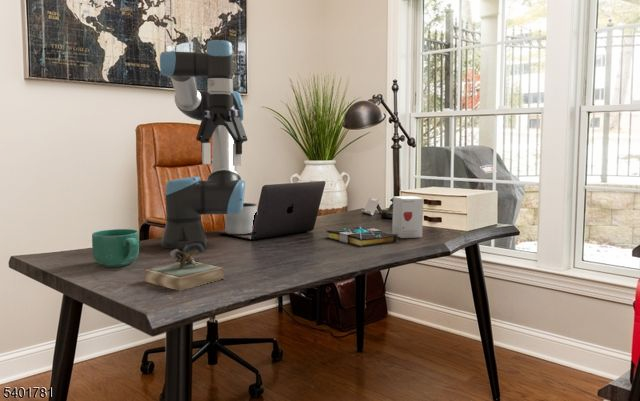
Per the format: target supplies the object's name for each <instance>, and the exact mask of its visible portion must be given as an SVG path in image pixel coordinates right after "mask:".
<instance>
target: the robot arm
mask: <svg viewBox="0 0 640 401" xmlns="http://www.w3.org/2000/svg"><path fill="white" fill-rule="evenodd" d="M233 54H234V50H233V44H232V42H230V41H229V40H223V39H212V40H209V41H208V42H207V44H206V52H198V51H197V52H194V51H193V52H192V51H174V50H172V51H162V52H161V53H160V54H159V55H160V56H159V70H160V73H161V75H162V76H164V77H169V78H170V80H171V82H172V87H173V90H174V102H175V105H176V107H177V109H178V110H179V111H180V112H181V113H182V114H183V115H185V116H187V117H188V118H190V119H192V120H194V121H195V120H196V121H200V125H199V127H198V132H197V134H196V137H195V139H196V141H199V142H200V145H201V147H200V149H201V151H200V152H201V154H202V156H201V157H202V165H210V164H211V173H209V175H208V177H207V180H202V178H201V176H189V177H181V178H176V179H170V180H168V181H166V184H165V194H164V196H165V216H166V217H165V218H166V219H165V223H166V224H165V227H164V230H163V235H162V237H161V247H162V248H165V249H173V250H175V249H178V250H183V249H184V247H185V245H186V244H189V243H191V242H193V241H195V240H198V241H199V240H200V241H203V242H204V243H205V244H206V246H207V244H208V243H207V242H208V240H207V239H208V238H207V235H206V233H205V228H204V226H203V224H202V215H225V214H228V215H230V214H238V213H240V212H241V211H242V209H243V203H245V190H246V181H245V180H243V179H242V178H241V175H240V174H239V173H238V171H237V167H238V166H242V154H243V143H244V142H247V141H248V136H247V133H246V130H245V128H244V126H243V123H242V122H243V121H244V108H243V99H242V95H241V94H240V92H239V91H235V90H234V81H233V80H234V79H233V76H234V75H233V71H234V70H233V69H234V68H233V65H234V63H233V62H234V61H233ZM195 78H207V90H206V89H204V90H203V89H197V85H196V79H195ZM211 137H212V144H211V142H210V140H211ZM211 145H212V147H211ZM211 148H212V152H211ZM211 153H212V154H211ZM211 155H212V157H211Z"/></svg>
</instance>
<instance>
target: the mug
mask: <svg viewBox="0 0 640 401" xmlns="http://www.w3.org/2000/svg"><path fill="white" fill-rule="evenodd" d="M91 235H92V236H91V244H92V246H91V247H92V248H91V249H92V255H93V256H92V257H93V259H94V260H95V261H96V262H97V264H100V265H103V267H105V266H106V267H105V268H119V267H125V266H128V265H130V264H131V263H133V262H134V261H135V260H136V259H137V258H138V257H139V252H140V242H139V241H140V240H139V238H140V237H139V231H138V230H136V229H130V228H118V229H117V228H116V229H104V230H103V229H102V230H98V231H94V232H92V234H91Z"/></svg>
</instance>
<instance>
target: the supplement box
mask: <svg viewBox="0 0 640 401" xmlns="http://www.w3.org/2000/svg"><path fill="white" fill-rule="evenodd" d="M392 198H393V199H392V223H391V224H392V228H391V233H393V234H398V238H400V239H413V238H415V239H416V238H423V222H424V221H423V220H424V217H423V216H424V198H422V197H419V196H416V195H415V196H414V195H411V196H409V195H408V196H407V195H405V196H403V195H401V196H393V197H392Z"/></svg>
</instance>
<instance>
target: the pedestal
mask: <svg viewBox="0 0 640 401" xmlns="http://www.w3.org/2000/svg"><path fill="white" fill-rule="evenodd" d="M196 265H197V267H196V266H195V265H193V264H191V263H188V262H185V265H184V267H183V268H182V269H180V262H175V263H171V264H167V265H162V266H157V267H156V266H155V267H153V268H146V269H144V282H146V283H148V284H149V283H150V284H153V285H156V286H160V287H163V288H168V289H171V290H174V289H175V290H174V291H179V292H182V291H185V289H186V290H188V289H189V290H190V289H192V288H197V287H199V286H200V285H201V286H204V285H208V284H210V282H212V283H215V282H214V281H216V282H219V281H222V280H221V279H223V280H224V279H225V278H224V277H225V275H224V274H225V273H224V272H225V269H224V267H221V266H216V265H211V264H207V263H202V262H196ZM218 280H219V281H218ZM207 283H208V284H207ZM203 284H204V285H203ZM196 286H197V287H196ZM181 290H182V291H181Z"/></svg>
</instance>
